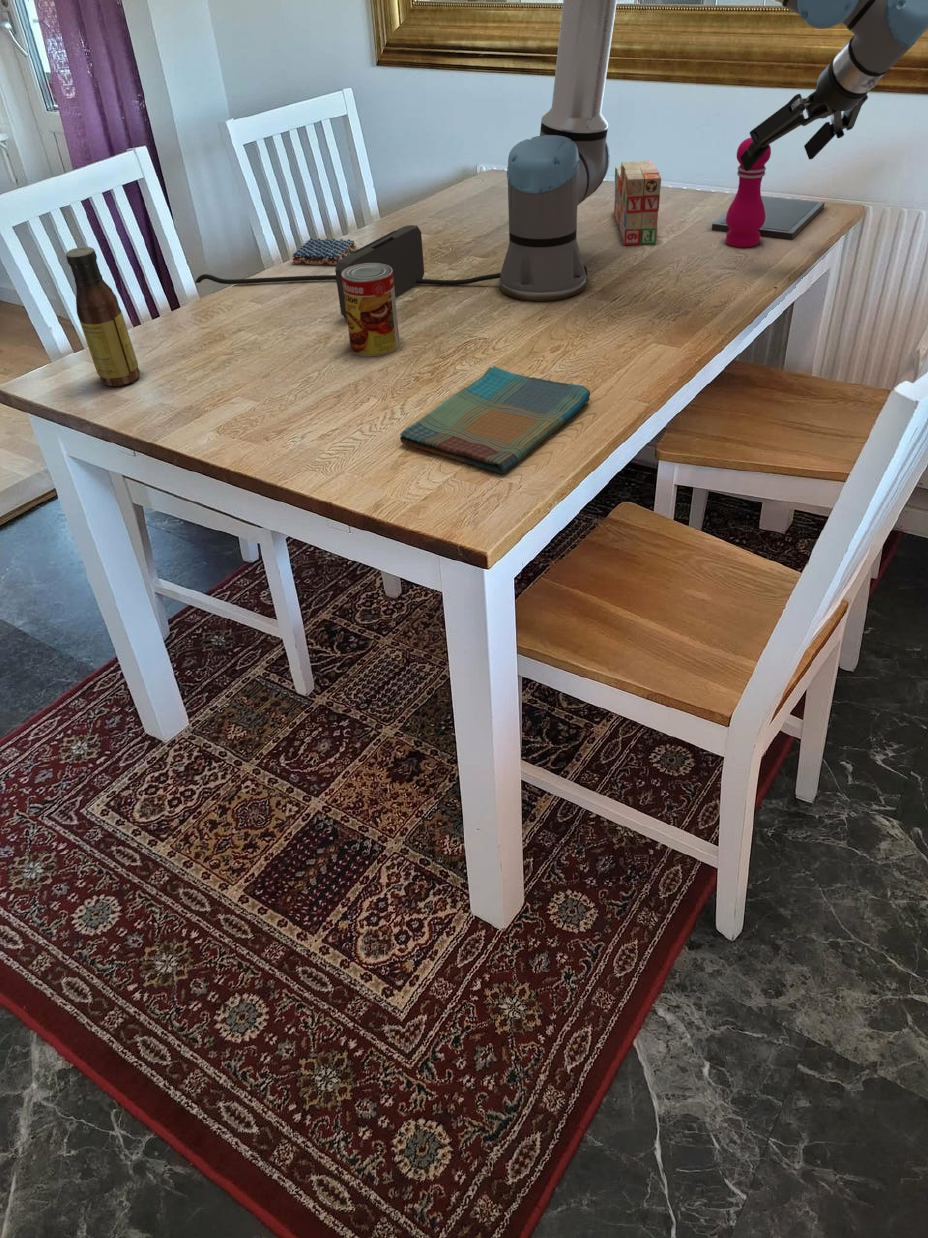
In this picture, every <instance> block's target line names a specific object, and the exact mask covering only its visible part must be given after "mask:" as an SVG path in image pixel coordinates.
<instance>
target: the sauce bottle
mask: <svg viewBox="0 0 928 1238" xmlns="http://www.w3.org/2000/svg"><path fill="white" fill-rule="evenodd" d="M65 257H66V258H65V259H66V261H67V264H68V266H70V269H71V272H72V275H73V279H74V284H75V289H76V291H75V292H76V294H75V295H76V296H75V306H76V307H75V308H76V315H77V318H78V320H79V324H80V327H81V329H82V332H83V336H84V338H85V341H86V344H87V347H88V350H89V353H90V356H91V359H92V362H93V366H94V369H95V371H96V374H97V375H98V377H99V378H100V381H101V383H102V384H103V385H105V386H108V387H122V386H125V385H126V386H127V385H129V384H132V383H134V382H136V381H137V380H138V379H139V378H140V375H141V372H140V371H141V370H140V369H139V363H138V359H137V356H136V353H135V350H134V347H133V343H132V341H131V337H130V333H129V331H128V327H127V324H126V321H125V317H124V314H123V311H122V309H121V307H120V305H119V302H118V301H119V300H118V297H117V296H116V294H115V293H114V291H113V289H112V288H111V286H110V285H108V284H107V282H106V281H105V280H104V279H103V275H102V274H101V270H100V267H99V264H98V261H97V259H98V257H97V253H96V251H95V249H94V247H91V246H80V247H76V248H72V249H70V250H68V251H67V252H66V253H65Z"/></svg>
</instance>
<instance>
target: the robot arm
mask: <svg viewBox="0 0 928 1238" xmlns="http://www.w3.org/2000/svg"><path fill="white" fill-rule="evenodd" d="M771 1H772V2H773V3H776V4H779V5H781V6H782V7H784V8H786V9H788V10H789V11H790V12H791V11H792V12H793V13H795V14H797V15H799V16H800V17H801V19H802V20H803V21H804V23H806V24H807V25H808V26H810V27H812V28H814V29H819V30H825V29H830V28H832V27H835V26H838V25H840V24H842V25H844V27H846V28H847V30H849V31H850V32H851V33H852V34H853V36H852V37H851V38H850V39H849V40H848V41H847V42H846V43H845V44H844V46H843V47H842V48H841V49H840V50H839V51H838V52H837V54H835V57H834V58H833V59H832V60H831V61H830V62H829V64H827V66H826V67H825V68H824V69H823V71H821V73H820V74H819V76H818V79H817V82H816V83H817V84H816V88H815V90H814V91H813V92H812V93H810V94H809V95H807V97H804V98H803V96H802V94H801V93H797V94H796V95H793V97H792V98H791V99H790V100H789V101H788V102H787V103H786V104H784V105H783V106H782V107H780V108H779V109H778V110H776V111H775V112H773V114H772V115H770V116H768V117H767V118H766V119H765V120H763V121H762V122H761V123H759V124H758V125H756V127H754V128H753V129H751V130H750V132H749V136H750V138H751V139H752V141H753V142H752V143H751V144H750V146H749V147H748V148H747V150H746V151H745V152H744V153H743V155H742V156H741V157H740V158H741V161H742V163H743V166H744V169H745V171H749V170H750V169H751V168H752V167H753V166H754V164H755V163H756V162H757V161H758V160H759V159H760V157H761V156H762V155H763V154H764V153H765V152H766V151H767V149H768V148H769V144H772V143H773V142H775V141H777V140H779V139H780V138H782V137H783V136H786V135H787V134H789V133H790V132H792V131H794V130H796V129H797V128H798V127H800V126H802V127H806V126H808V125H809V124H811V123H813V122H814V121H816V120H819V119H821V120H822V119H827V118H828V117H830V121H826V122H824V124H823V125H821V126H820V127H819V129H818V130H817V131H816V132H815V133H814V134H813V135H812V137H811V138H810V139H809V140H808V141H807V142H806V143H805V144H804V145H803V148H804V150H805V153H806V156H807V158H808V160H810V161H811V160H813V159H815V157H816V156H817V155H818V154H819V153H820V152H821V151H822V150H823V149H824V148H825V147H826V146H827V144H828V143H829V142H830V141H832V139H833V138H834V137H836V139H841V138H843V137H844V136H845V132H844V130H846V131H850V130H852V129H853V128H854V126H855V124H856V122H857V119H858V116H859V114H860V112H861V109H862V106H863V105H864V103H866V101H867V100H868V99H869V95H868V93H869V91H871V90H872V89H874V88H875V87H876V85H877V83H878V82H879V81H880V80H881V79H882V78H883V77H884V76H885V75H886V74H887V73H888V72H889V71H890V70H891V69H892V68H893V67H894V65H896V63H898V61H900V59H902V58H903V56H904V55H905V54H906V53H907V52H908V51H909V50H910V49H911V48H912V47H913V46H914V45H915V44H916V43H917V42H918V41H919V39H920V38H921V37H922V36H923V34H925V32H926V31H927V30H928V0H771ZM617 3H618V0H562V8H561V18H560V27H559V37H558V44H557V45H558V46H557V54H556V55H557V56H556V64H555V72H554V73H555V74H554V83H553V91H552V99H551V108H550V109H549V111H547V112H546V113H545V114H544V115H542V117H541V121H540V131H539V135H538V136H533V137H531V138H530V139H529V138H526V139H524V140H521V141H519V142H518V143H516V144H515V145H514V146H513V147H512V148H511V149H510V151H509V154H508V157H507V167H506V177H507V198H508V199H507V202H508V205H507V206H508V207H507V208H508V245H507V250H506V253H505V257H504V261H503V264H502V267H501V271H500V272H497V273H491V274H485V275H480V276H474V277H470V278H465V279H430V278H429V279H428V278H423V279H417V280H416V283H417V284H416V285H434V286H435V285H436V286H437V285H438V286H460V285H461V286H462V285H469V284H474V283H479V282H483V281H489V280H495V279H499V289H500V291H501V292H502V293H503V294H505V295H506V296H508V297H511V298H514V299H517V300H522V301H529V302H530V301H531V302H549V301H557V300H558V301H559V300H564V299H568V298H570V297H571V298H572V297H574V296H576V295H578V294H580V293H581V292H583V291H584V290H585V288H586V286H587V277H588V276H589V274H588V268H587V266H586V265H585V264H584V262H583V259H582V254H581V252H580V248H579V245H578V242H577V235H578V234H577V232H578V231H577V228H578V227H577V226H578V206H579V205H580V204H582V203H583V202H584V201H585V200H586V199H587V198H590V197H591V196H592V195H593V194H594V193H596V191H597V190H598V189H599V188H600V187H601V185H602V183H604V180H605V177H606V175H607V174H608V171H609V166H610V157H611V156H610V149H609V145H608V142H607V138H608V131H609V122H608V121H607V120H606V118H605V117H604V115H603V113H602V112H603V111H602V110H603V103H604V102H603V101H604V95H605V89H606V81H607V74H608V67H609V61H610V55H611V54H610V53H611V45H612V39H613V32H614V31H613V30H614V24H615V17H616V10H617V5H618V4H617ZM804 111H805V113H806V116H807V117H805V115H804ZM204 280H209V281H212V282H215V283H217V284H222V285H248V284H263V283H265V284H267V283H284V282H305V281H307V282H308V281H310V282H311V281H337V280H336V274H326V275H325V274H323V275H322V274H321V275H295V276H276V277H275V276H274V277H257V278H256V277H255V278H237V279H236V278H235V279H234V278H233V279H232V278H230V279H229V278H221V277H217V276H215V275H212V274H209V273H207V274H206V273H203V274H201V275H199V276H198V277H197V278H196V279H195V281H194V283H195V284H199V283H201V282H202V281H204Z"/></svg>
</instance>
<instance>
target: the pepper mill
mask: <svg viewBox="0 0 928 1238" xmlns="http://www.w3.org/2000/svg"><path fill="white" fill-rule="evenodd" d="M752 142H753V141H752V139H751V137H748V138H745V139H744V140H743V141H741V143H740V144H739V146H738V147H737V150H736V160H737V162H738V163H739V166H738V167H737V173H736V175H737V176H738V177H739V178H738V182H739V183H738V187H737V191H736V194H735V196H734V198H733V200H732V202H731V204H730V206H729V207H728V209H727V215H726V224H727V226H728V227H729V229H730V230H729V231H728V232H726V236H725V243H726V244H727V245H729V246H731V247H736V248H751V247H752V248H753V247H755V246H758V245H759V244H760V241H761V236H760V232H759V231H758V230H759V229H760V228H761V227H762V226H763V224H764V222H765V208H764V205H763V202H762V198H761V196H762V193H761V187H762V180H763V177H765V176H766V170H767V167H766V164H767V163H768V162H769V160H770V158H771V155H772V148H771V145H770V144H771V143H770V144H769V148H768V149H767V151H766V152H765V153H764V154H763V155H762V156H761V157H760V159H759V160H758V161H757V162H756V163H755V164H754V166H753V167H752V168H751V169H750V170H749V171H745V169H744V166H743V163H742V161H741V158H740V157H741V156H742V155H743V153H744V152H745V151H746V150H747V148H748V147H749V146H750V144H751V143H752Z"/></svg>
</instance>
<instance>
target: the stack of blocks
mask: <svg viewBox="0 0 928 1238" xmlns="http://www.w3.org/2000/svg"><path fill="white" fill-rule="evenodd" d="M661 187H662V177H661V174H660V171H659V170H658V167H657V166H656V164H655V163H654V161H653V160H652V159H651V160H636V161H621V163H620V165H617V166H615V168H614V203H613V204H614V205H613V206H614V209H613V210H614V211H613V212H614V215H615V220H616V222H617V223H616V224H617V226H618V228H619V231H620V234H621V238H622V242H623V245H624V246H639V245H656V243H657V237H658V218H659V210H660V200H661V189H662V188H661Z"/></svg>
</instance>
